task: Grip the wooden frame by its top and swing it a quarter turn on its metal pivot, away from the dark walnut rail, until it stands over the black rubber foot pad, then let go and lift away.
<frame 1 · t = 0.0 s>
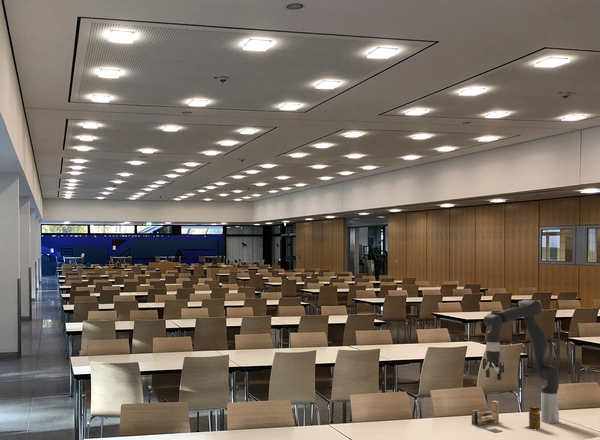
hand: (493, 378, 357), 29 cm above the table, tool pointing down, fingers open, 8 cm apart
condiment: (533, 428, 362), on the table
wooden frame: (487, 412, 370), point 7 cm above the table, hinge at 0.0°
walnut rail: (484, 422, 373), on the table
foot pad: (494, 430, 356), on the table
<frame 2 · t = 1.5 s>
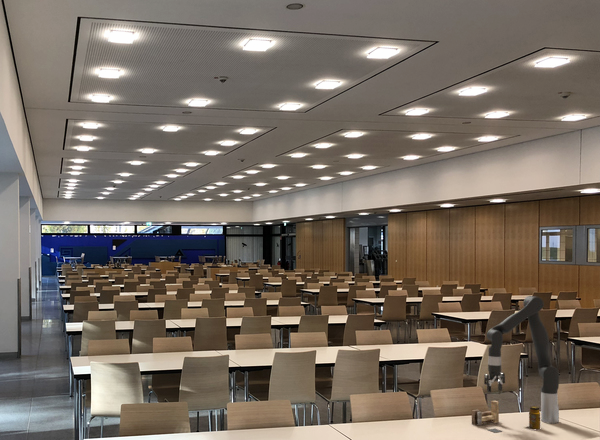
hand: (494, 391, 374), 18 cm above the table, tool pointing down, fingers open, 8 cm apart
nothing on the table moved.
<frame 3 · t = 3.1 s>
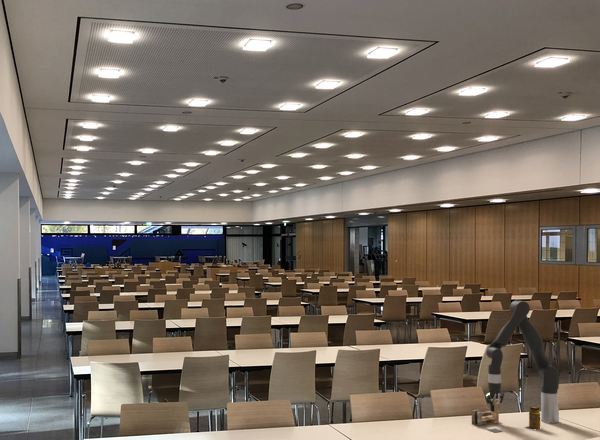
hand: (494, 410, 373), 7 cm above the table, tool pointing down, fingers closed on wooden frame, 3 cm apart
wooden frame: (487, 412, 370), point 7 cm above the table, hinge at 0.0°, touching gripper
everything else where it was.
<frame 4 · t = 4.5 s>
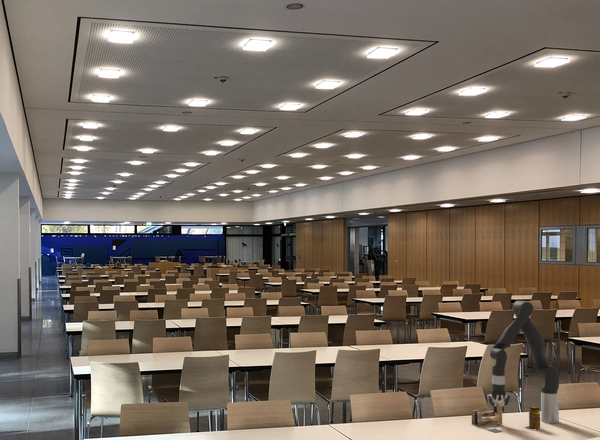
hand: (498, 412, 370), 7 cm above the table, tool pointing down, fingers closed on wooden frame, 3 cm apart
wooden frame: (489, 413, 369), point 7 cm above the table, hinge at 16.5°, touching gripper
everything else where it was.
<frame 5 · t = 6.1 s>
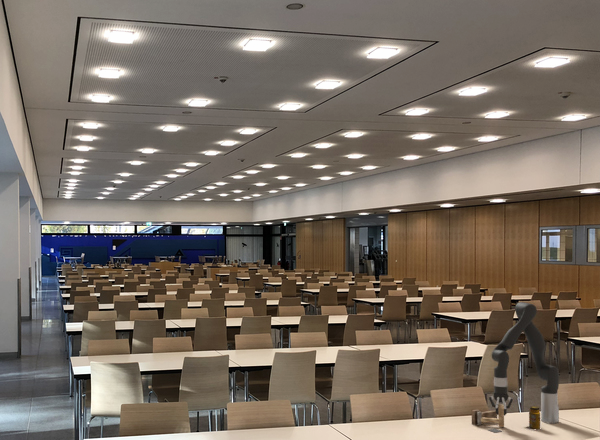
hand: (501, 414, 364), 7 cm above the table, tool pointing down, fingers closed on wooden frame, 3 cm apart
wooden frame: (490, 414, 366), point 7 cm above the table, hinge at 43.6°, touching gripper
everything else where it was.
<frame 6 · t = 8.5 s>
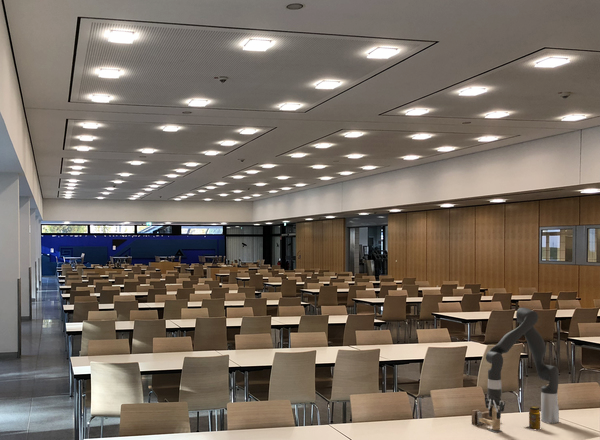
hand: (494, 417, 357), 7 cm above the table, tool pointing down, fingers open, 5 cm apart
wooden frame: (487, 416, 362), point 7 cm above the table, hinge at 84.6°
everything else where it was.
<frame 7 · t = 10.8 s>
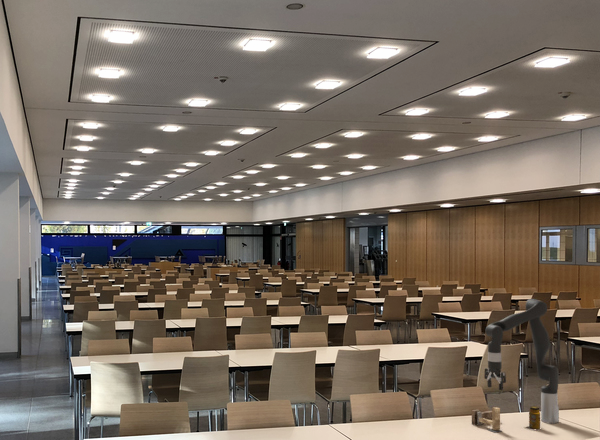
hand: (495, 388, 361), 23 cm above the table, tool pointing down, fingers open, 8 cm apart
nothing on the table moved.
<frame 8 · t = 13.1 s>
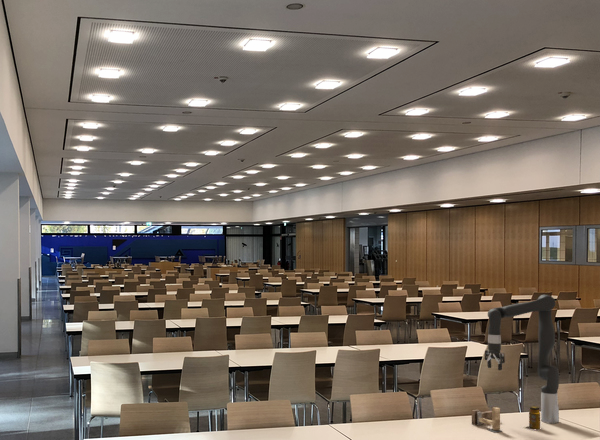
hand: (494, 369, 382), 30 cm above the table, tool pointing down, fingers open, 8 cm apart
nothing on the table moved.
at the end: wooden frame at +85° (first picture: +0°); the gripper is holding nothing; condiment moved 0.3 cm from its start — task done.
